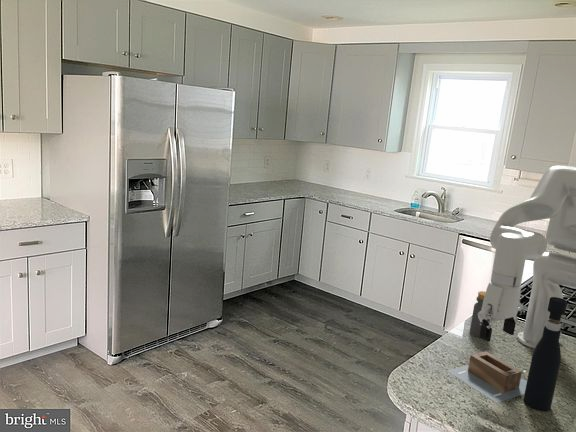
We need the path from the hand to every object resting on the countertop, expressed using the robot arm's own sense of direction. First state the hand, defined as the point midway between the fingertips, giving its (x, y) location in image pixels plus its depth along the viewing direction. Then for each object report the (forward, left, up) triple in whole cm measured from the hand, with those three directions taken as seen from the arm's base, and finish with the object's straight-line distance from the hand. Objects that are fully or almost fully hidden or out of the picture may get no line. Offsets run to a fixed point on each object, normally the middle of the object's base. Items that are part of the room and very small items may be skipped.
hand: (496, 336), depth 138 cm
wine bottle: (0, +15, -14) cm, 20 cm away
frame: (+1, +2, -12) cm, 12 cm away
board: (+1, +2, -13) cm, 14 cm away
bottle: (-22, -22, -14) cm, 34 cm away
